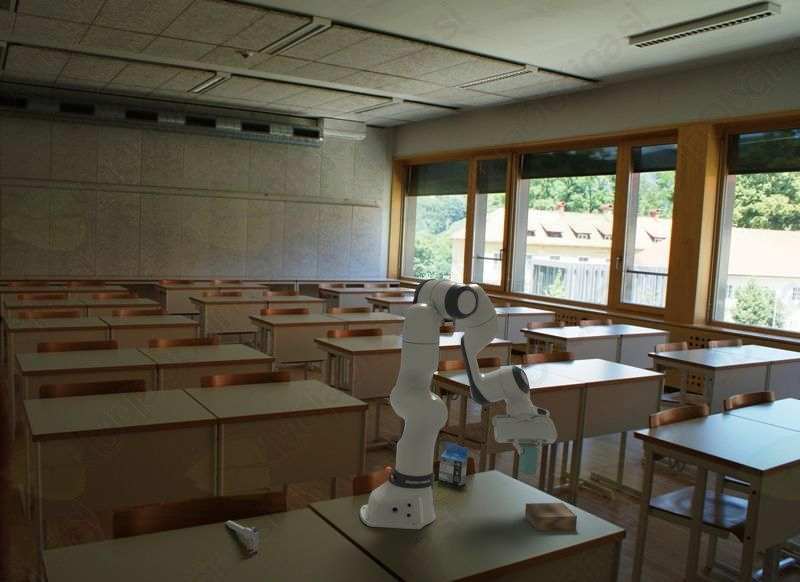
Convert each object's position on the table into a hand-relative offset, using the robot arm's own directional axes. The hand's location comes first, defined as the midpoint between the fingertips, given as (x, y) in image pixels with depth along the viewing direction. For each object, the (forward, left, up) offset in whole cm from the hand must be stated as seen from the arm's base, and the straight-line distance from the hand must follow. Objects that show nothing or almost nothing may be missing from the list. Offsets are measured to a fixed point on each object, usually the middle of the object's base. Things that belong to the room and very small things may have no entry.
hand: (530, 454), depth 212 cm
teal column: (0, +1, -6) cm, 6 cm away
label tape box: (-18, +24, -18) cm, 35 cm away
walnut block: (+3, -11, -17) cm, 21 cm away
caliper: (-87, -15, -18) cm, 90 cm away
